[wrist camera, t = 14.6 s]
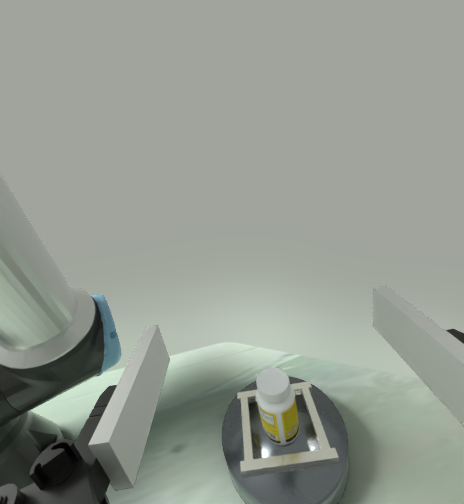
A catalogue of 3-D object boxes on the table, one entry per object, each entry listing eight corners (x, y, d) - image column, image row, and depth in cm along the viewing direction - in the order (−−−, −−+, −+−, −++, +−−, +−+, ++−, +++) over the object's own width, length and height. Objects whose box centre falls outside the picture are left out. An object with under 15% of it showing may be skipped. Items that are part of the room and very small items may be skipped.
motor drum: (227, 537, 26) (218, 510, 25) (227, 401, 41) (221, 378, 40) (376, 517, 26) (377, 488, 24) (320, 386, 41) (318, 363, 39)
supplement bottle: (296, 408, 34) (289, 362, 31) (303, 445, 30) (296, 396, 27) (261, 411, 35) (252, 366, 32) (264, 447, 30) (253, 399, 27)
